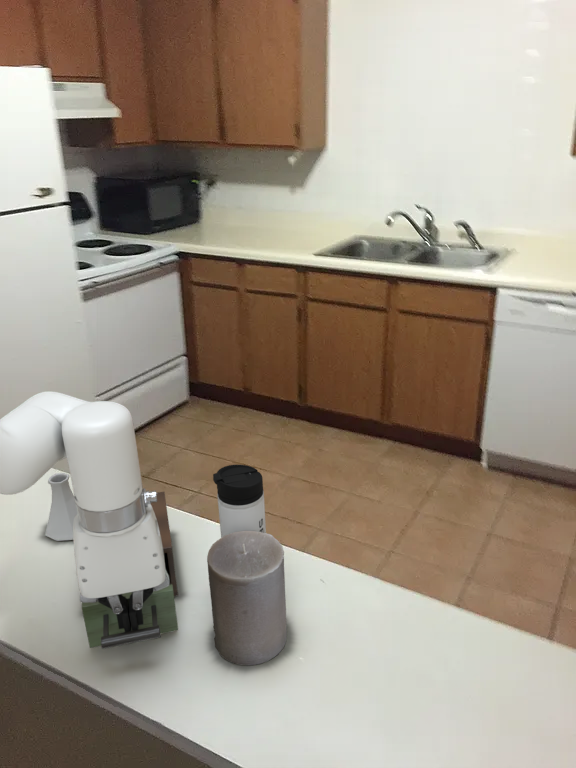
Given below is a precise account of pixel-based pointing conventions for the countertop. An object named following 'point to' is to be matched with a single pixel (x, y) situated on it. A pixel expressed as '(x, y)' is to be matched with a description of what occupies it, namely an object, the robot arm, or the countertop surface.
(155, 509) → the cabinet
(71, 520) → the flask
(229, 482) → the travel mug
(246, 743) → the countertop surface
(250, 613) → the pillar candle
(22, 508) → the countertop surface
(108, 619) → the bin drawer
